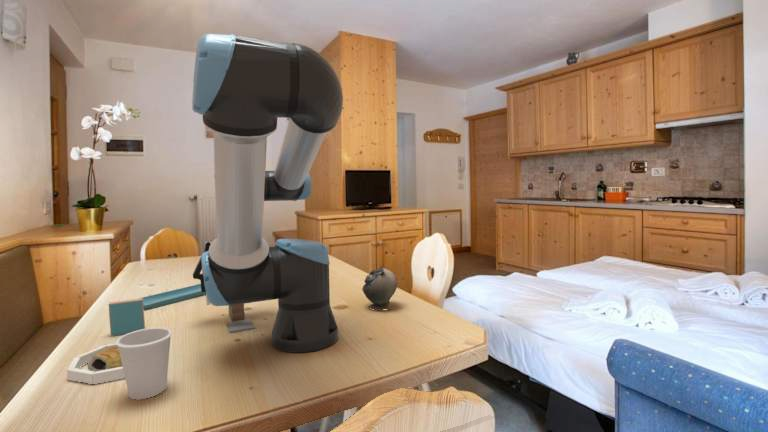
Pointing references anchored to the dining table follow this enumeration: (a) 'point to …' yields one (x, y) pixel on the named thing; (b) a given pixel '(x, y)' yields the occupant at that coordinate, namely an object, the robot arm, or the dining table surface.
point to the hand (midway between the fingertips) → (235, 299)
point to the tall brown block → (238, 319)
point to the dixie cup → (145, 361)
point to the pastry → (105, 360)
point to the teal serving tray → (172, 296)
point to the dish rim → (93, 376)
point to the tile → (126, 316)
